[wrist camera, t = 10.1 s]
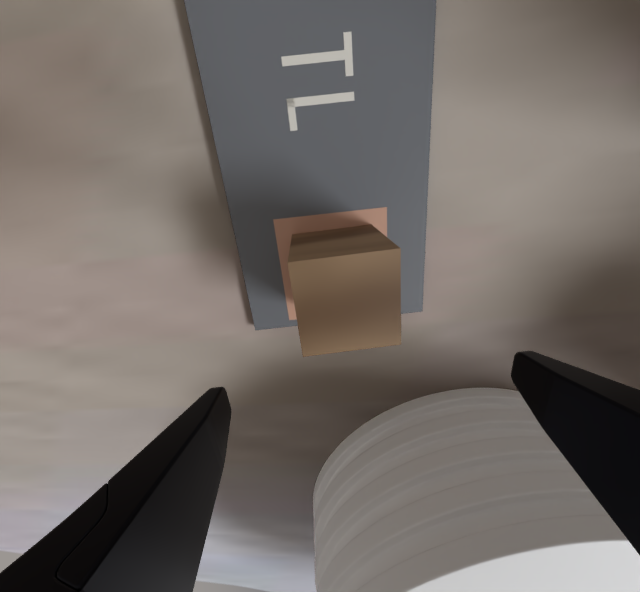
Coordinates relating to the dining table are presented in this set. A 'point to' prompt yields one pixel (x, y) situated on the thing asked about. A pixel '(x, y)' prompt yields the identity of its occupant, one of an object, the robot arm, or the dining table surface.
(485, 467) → the plate stack
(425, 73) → the board
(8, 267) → the dining table surface
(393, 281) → the walnut block
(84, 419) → the dining table surface
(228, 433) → the robot arm
